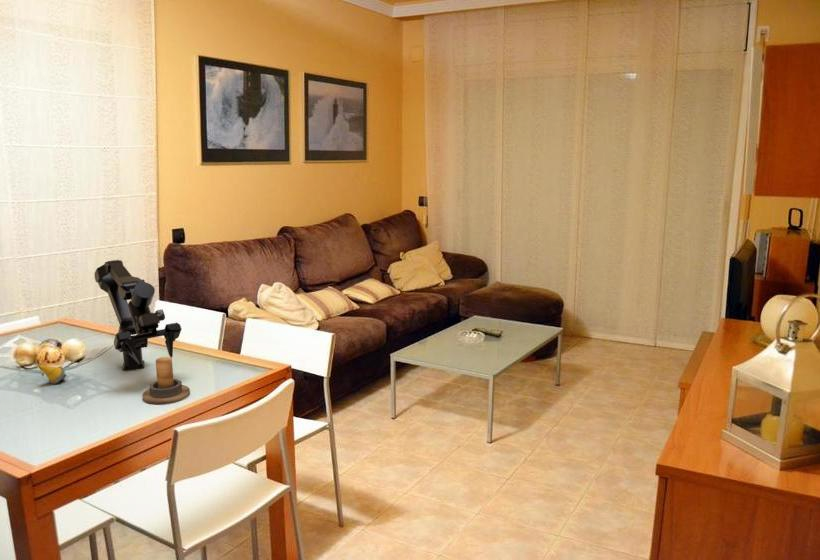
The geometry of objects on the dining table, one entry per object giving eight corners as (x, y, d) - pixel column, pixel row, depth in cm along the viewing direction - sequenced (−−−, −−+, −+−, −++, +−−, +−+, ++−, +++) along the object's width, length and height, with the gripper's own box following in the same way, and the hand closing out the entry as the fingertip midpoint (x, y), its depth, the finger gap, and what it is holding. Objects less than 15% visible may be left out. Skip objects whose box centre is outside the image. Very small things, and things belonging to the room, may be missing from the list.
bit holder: (143, 390, 201) (142, 379, 200) (189, 385, 205) (188, 374, 205) (141, 407, 189) (140, 395, 188) (190, 400, 193) (189, 389, 193)
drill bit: (70, 384, 208) (43, 369, 200) (57, 390, 209) (29, 375, 202) (73, 369, 211) (47, 354, 204) (60, 375, 212) (33, 360, 205)
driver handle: (161, 389, 199) (158, 356, 197) (176, 389, 199) (174, 356, 197) (155, 395, 195) (152, 362, 193) (171, 395, 195) (168, 362, 193)
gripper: (112, 306, 196) (127, 353, 190) (177, 297, 207) (192, 340, 201) (108, 326, 204) (121, 371, 198) (170, 316, 215) (185, 358, 209)
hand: (156, 360), depth 201 cm, fingers open, 9 cm apart
